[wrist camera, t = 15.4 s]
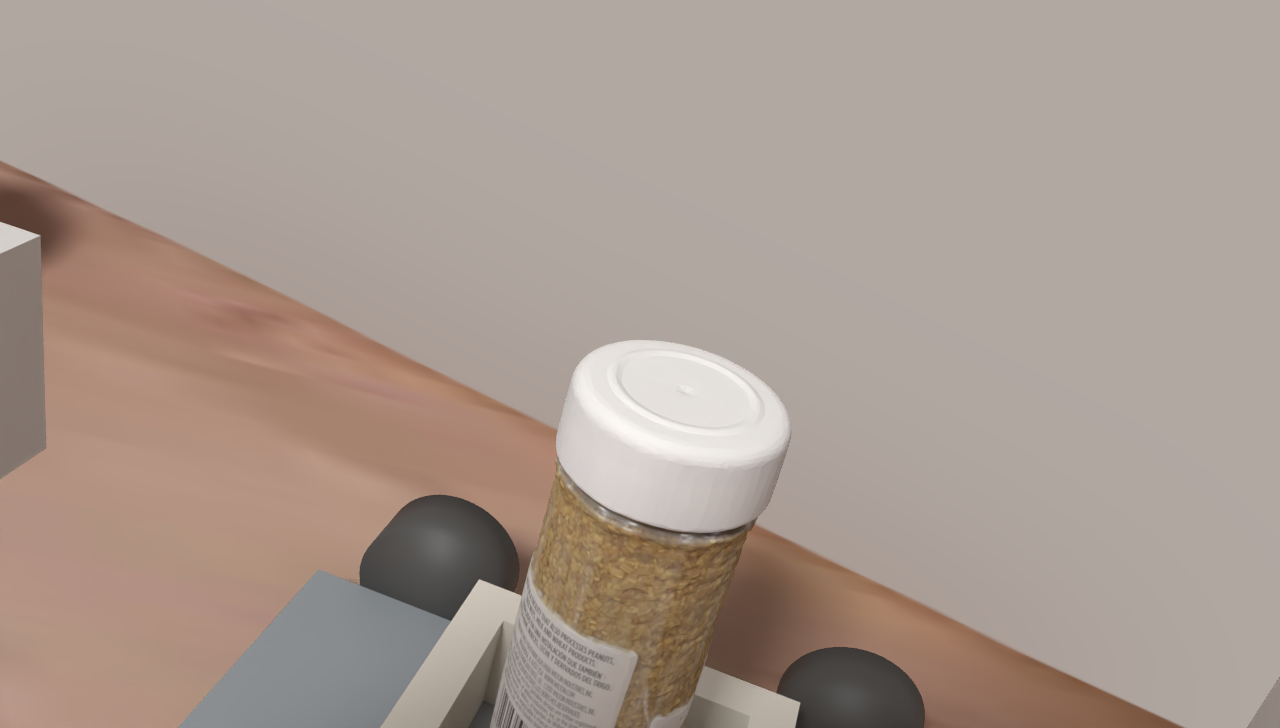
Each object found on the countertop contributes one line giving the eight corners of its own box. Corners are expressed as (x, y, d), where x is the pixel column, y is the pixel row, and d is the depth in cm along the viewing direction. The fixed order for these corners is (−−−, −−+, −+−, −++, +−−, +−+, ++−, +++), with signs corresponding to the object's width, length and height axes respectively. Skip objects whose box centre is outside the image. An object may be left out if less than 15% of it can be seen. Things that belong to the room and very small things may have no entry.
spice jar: (668, 894, 29) (842, 446, 23) (496, 944, 27) (637, 463, 21) (592, 752, 32) (726, 328, 26) (434, 786, 30) (539, 331, 24)
